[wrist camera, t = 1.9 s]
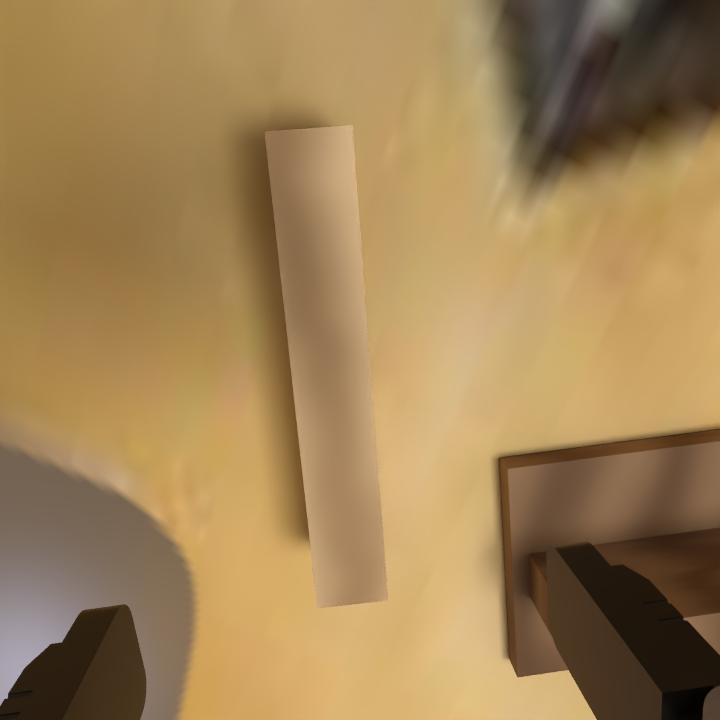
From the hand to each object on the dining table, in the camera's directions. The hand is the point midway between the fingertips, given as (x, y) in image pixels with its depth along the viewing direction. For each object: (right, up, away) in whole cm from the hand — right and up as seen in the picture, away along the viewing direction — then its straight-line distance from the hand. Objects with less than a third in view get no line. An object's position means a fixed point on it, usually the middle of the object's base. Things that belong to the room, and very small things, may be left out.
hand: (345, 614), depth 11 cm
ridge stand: (+18, -6, +24) cm, 31 cm away
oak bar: (-1, +5, +20) cm, 21 cm away
